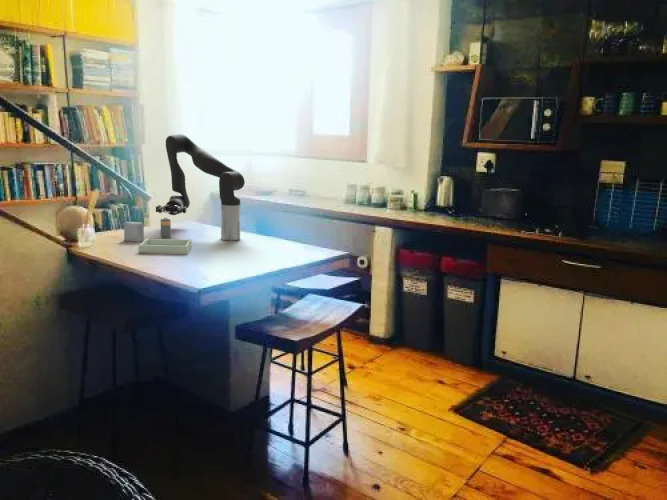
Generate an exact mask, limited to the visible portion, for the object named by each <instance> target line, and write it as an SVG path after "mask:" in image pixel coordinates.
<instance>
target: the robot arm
mask: <svg viewBox="0 0 667 500" xmlns="http://www.w3.org/2000/svg"><path fill="white" fill-rule="evenodd" d="M165 149H166V155H167V160H168V165H169V170H170V174H171V175H170V176H171V189H172V191H173V192H175V193H178V194H180V195H171V196H170V197H169V201H167V202H166V203H165V205H157V206H155V212H156V213H159V214H161V213H165V214H168V215H169V216H170V215H171V216H177V215H179V214H182V213H183V214H186V213H187V209H188V208H189V207H190V203H191V202H190V199H189V195H188V193H187V188H186V175H185V173H184V170H183V169H182V167H181V166H180V164H179V161H178V154H179V153H185V154H187V155H189V156H190V157H191V159H192V163H193V165H194V166H195V167H196V168H197V169H198V170H200V171H202V172H204V174H208V175H210V176H213V177H216V178H219V180H218V187H219V190H218V191H219V199H220V203H221V204H220V209H221V210H220V239H221V240H223V241H240V240H241V199H240V198H238V197H237V196H235V191H239V190H241V189H243V187H244V186H245V182H246V181H245V178H244V176H243V174H242V173H240V172H239V171H237V170H236V169H233V168H232V167H230V166H228V165H227V164H225V163H223V162H222V161H220V160H219V159H217V157H215V156H213V155H212V154H210V153H209V152H208V151H206V150H204V149H203V148H201V147H200V146H198V145H197V144H196V143H195V142H194V141H193V140H192V139H190V138H189V137H188V136H186V135H185V134H181V133H180V134H173V135H172V134H171V135H168V136H167V137H166V139H165Z"/></svg>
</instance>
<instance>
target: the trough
mask: <svg viewBox="0 0 667 500" xmlns="http://www.w3.org/2000/svg"><path fill="white" fill-rule="evenodd" d="M192 240H193V239H182V238H181V239H179V238H177V239H173V238H172V239H161V238H144V241H141V242H140V244H139V245H138V254H148V255H149V254H150V255H151V254H152V255H153V254H154V255H155V254H157V255H158V254H159V255H188V254H189V252H190V250H191V249H192V248H191V247H193V246H192V245H193V243H192V242H193V241H192Z"/></svg>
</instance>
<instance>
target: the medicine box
mask: <svg viewBox="0 0 667 500" xmlns="http://www.w3.org/2000/svg"><path fill="white" fill-rule="evenodd" d="M144 229H145V228H144V223H143V222H139V221H138V222H137V221H126V222H123V233H124V235H123V237H124V241H125V242H135V243H142V242H143V241H144V240H145V234H144V233H145V231H144Z"/></svg>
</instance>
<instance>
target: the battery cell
mask: <svg viewBox="0 0 667 500" xmlns="http://www.w3.org/2000/svg"><path fill="white" fill-rule="evenodd" d="M171 225H172V223H171V219H170V218H168V217H163V218H161V219H160V239H171V232H172V231H171V230H172V229H171Z"/></svg>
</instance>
